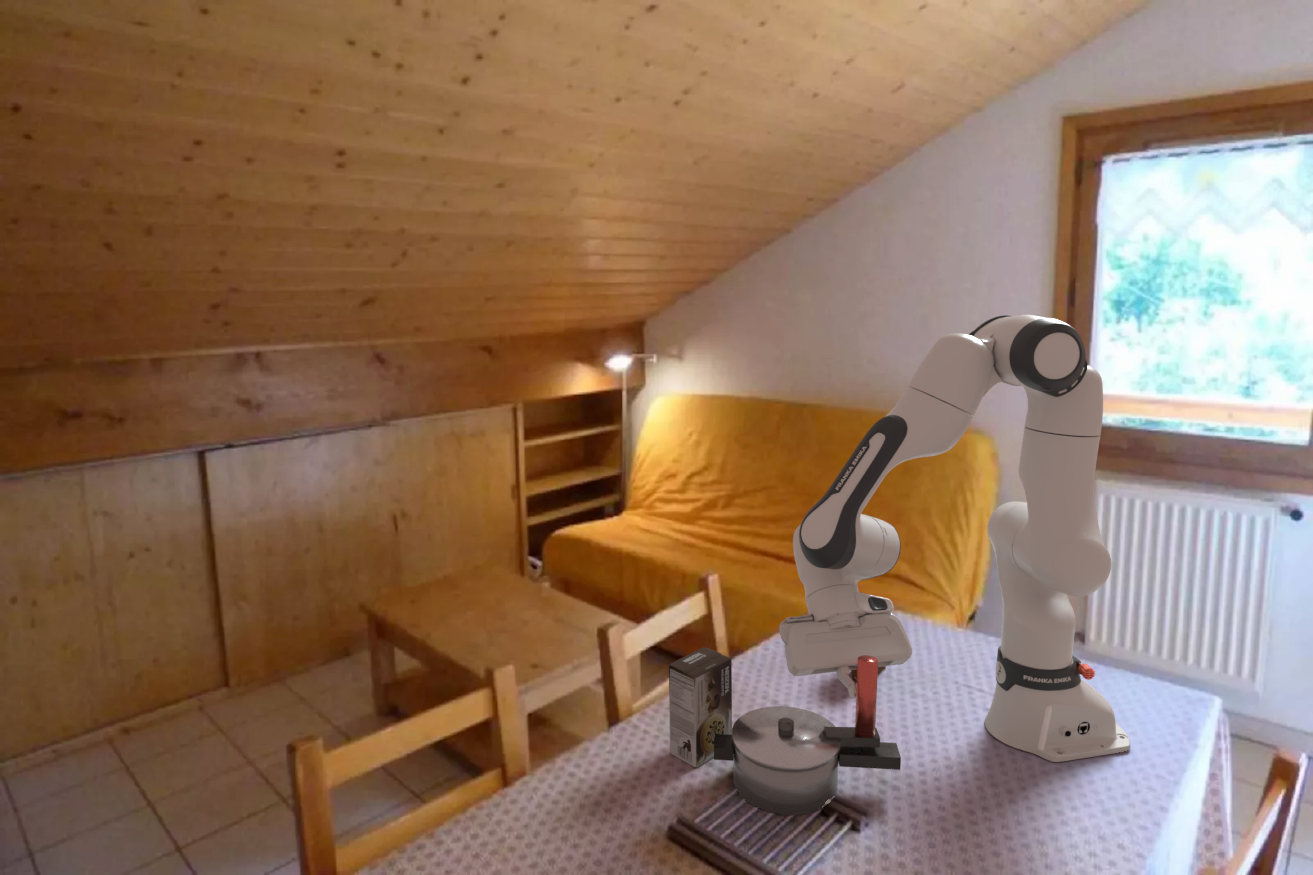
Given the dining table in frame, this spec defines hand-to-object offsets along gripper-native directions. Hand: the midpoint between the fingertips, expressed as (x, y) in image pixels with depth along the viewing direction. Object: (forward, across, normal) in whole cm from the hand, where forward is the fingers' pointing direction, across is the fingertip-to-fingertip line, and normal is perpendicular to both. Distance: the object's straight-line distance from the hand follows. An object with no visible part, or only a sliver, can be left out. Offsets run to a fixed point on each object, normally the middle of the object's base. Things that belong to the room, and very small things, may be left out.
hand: (861, 696), depth 127 cm
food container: (-12, +16, +32) cm, 38 cm away
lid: (+4, -9, +5) cm, 11 cm away
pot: (+10, -9, +10) cm, 16 cm away
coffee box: (+1, -22, +19) cm, 29 cm away
